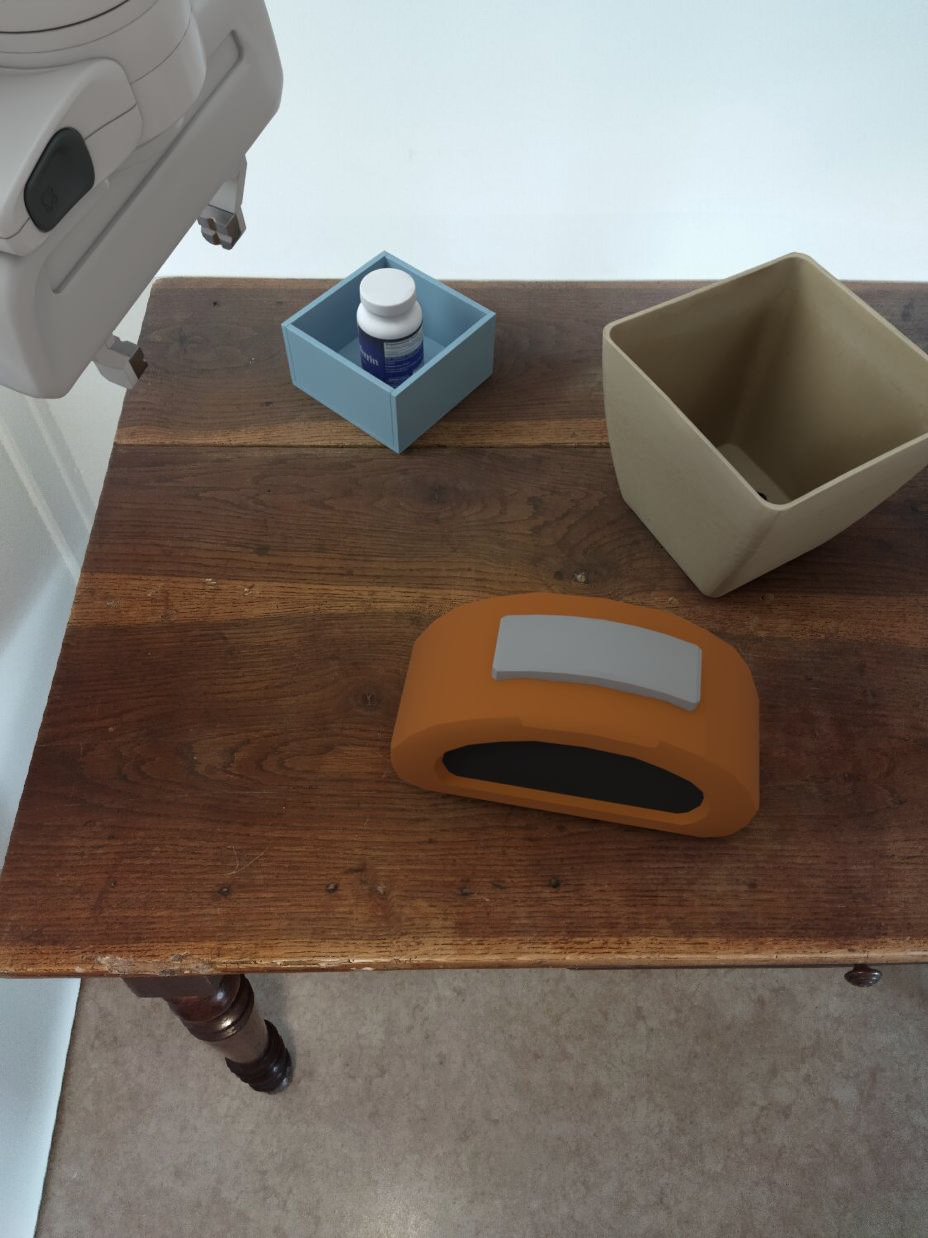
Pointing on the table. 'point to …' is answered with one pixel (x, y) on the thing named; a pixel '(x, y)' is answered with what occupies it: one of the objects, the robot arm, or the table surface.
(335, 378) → the open box
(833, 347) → the flower pot
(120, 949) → the table surface
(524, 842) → the table surface
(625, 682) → the alarm clock
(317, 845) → the table surface
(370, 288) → the pill bottle
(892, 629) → the table surface
